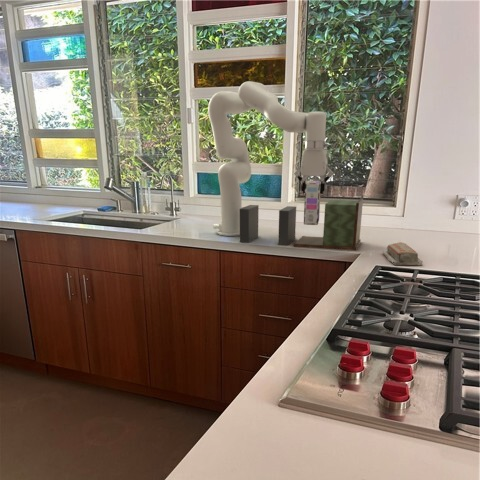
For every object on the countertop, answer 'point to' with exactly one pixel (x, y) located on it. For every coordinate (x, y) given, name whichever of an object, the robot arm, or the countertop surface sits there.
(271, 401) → the countertop surface
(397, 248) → the butter dish
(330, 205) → the green zigzag bookend
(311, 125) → the robot arm
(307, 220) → the candy box
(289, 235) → the grey rectangular blocks
